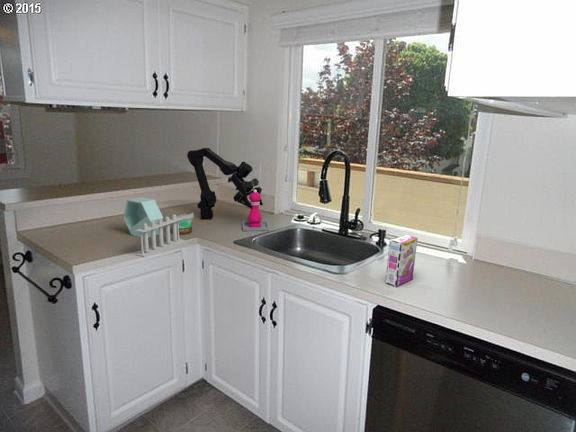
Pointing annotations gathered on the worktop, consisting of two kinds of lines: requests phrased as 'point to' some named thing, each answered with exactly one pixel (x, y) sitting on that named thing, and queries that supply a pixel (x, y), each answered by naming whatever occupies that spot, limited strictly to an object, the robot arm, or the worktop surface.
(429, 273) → the worktop surface
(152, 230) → the test tube rack
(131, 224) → the planter
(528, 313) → the worktop surface
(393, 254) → the candy bar box
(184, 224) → the food container
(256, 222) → the pink bowling pin
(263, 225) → the slate tray
